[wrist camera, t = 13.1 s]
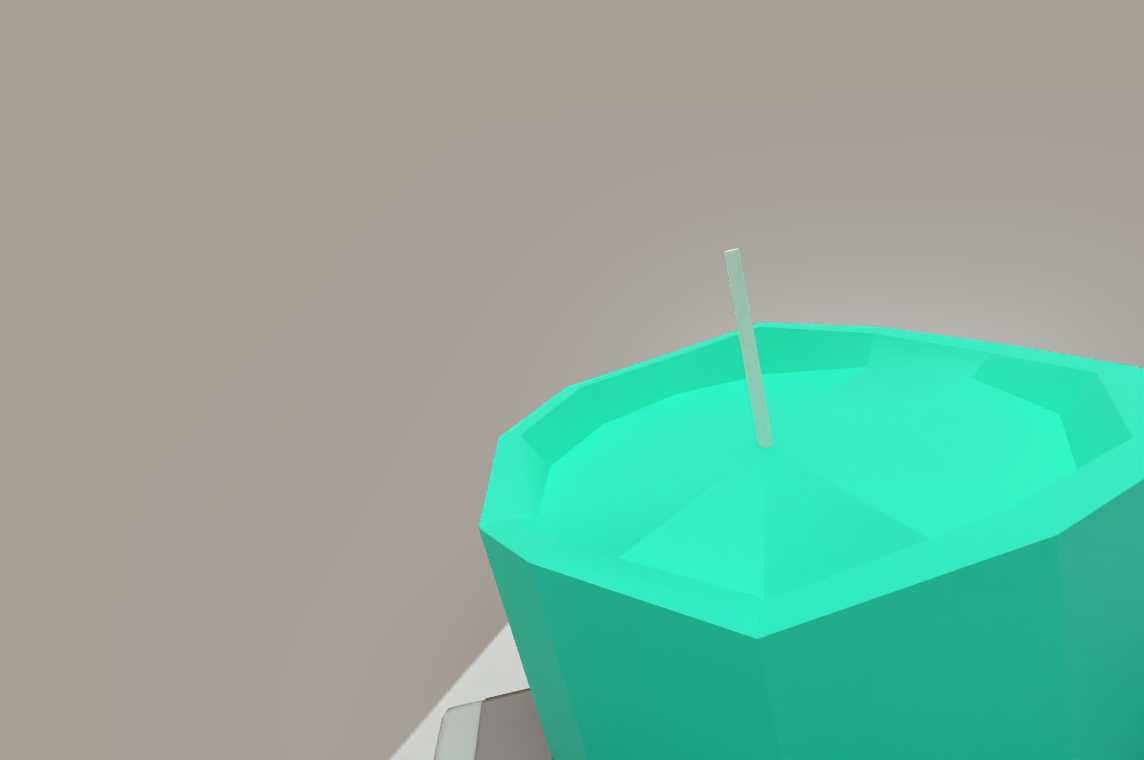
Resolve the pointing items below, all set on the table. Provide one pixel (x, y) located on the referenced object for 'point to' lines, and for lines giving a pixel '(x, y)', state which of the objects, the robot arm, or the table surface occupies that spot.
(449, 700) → the table surface
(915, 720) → the candle
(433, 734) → the table surface
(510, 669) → the table surface
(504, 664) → the table surface
